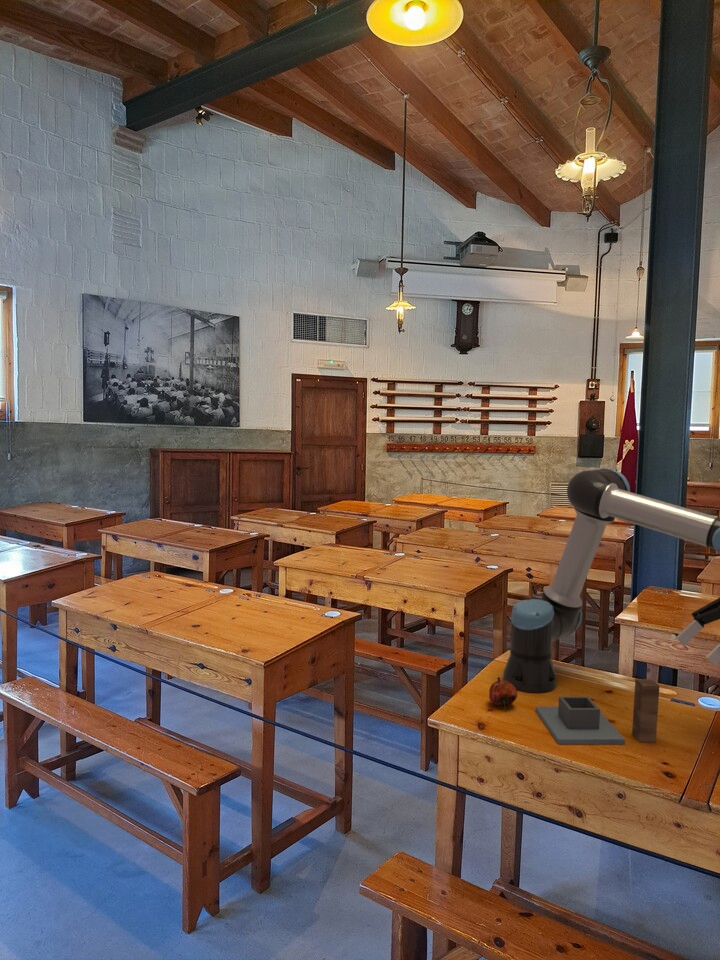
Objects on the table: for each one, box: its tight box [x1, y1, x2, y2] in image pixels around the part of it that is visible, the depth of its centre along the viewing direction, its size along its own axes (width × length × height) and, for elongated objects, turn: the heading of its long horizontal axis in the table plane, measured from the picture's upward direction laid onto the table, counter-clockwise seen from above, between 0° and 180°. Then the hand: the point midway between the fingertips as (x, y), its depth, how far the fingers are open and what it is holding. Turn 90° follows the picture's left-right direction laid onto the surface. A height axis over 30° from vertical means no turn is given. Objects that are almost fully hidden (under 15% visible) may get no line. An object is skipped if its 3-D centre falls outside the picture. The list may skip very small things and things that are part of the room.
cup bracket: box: [535, 696, 626, 745], centre depth 167 cm, size 18×16×6 cm
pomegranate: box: [488, 677, 518, 712], centre depth 178 cm, size 7×7×10 cm
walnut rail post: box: [631, 678, 660, 743], centre depth 161 cm, size 4×4×14 cm
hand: (694, 651), depth 160 cm, fingers open, 13 cm apart
